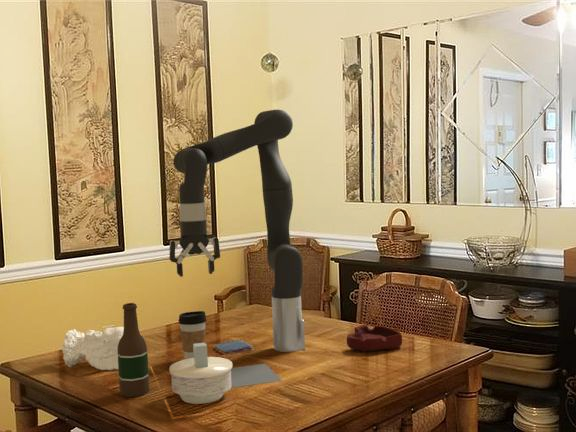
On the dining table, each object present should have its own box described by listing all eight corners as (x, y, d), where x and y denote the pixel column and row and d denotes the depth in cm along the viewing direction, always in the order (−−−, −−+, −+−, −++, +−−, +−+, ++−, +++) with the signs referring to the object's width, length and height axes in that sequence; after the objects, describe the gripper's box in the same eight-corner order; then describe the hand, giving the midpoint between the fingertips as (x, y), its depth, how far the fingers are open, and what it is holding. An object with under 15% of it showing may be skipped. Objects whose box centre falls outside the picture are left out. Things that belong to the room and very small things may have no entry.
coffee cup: (203, 365, 210) (201, 316, 209) (176, 365, 212) (173, 316, 210) (212, 357, 218) (209, 309, 217) (186, 357, 220) (183, 309, 218)
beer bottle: (122, 388, 192) (116, 301, 189) (151, 387, 192) (146, 300, 190) (117, 398, 184) (112, 307, 182) (147, 396, 184) (142, 306, 182)
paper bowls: (241, 391, 186) (240, 361, 185) (216, 411, 172) (215, 380, 171) (189, 387, 191) (188, 358, 190) (161, 406, 177) (159, 375, 176)
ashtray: (397, 356, 212) (396, 340, 212) (344, 353, 218) (343, 338, 217) (407, 341, 229) (406, 326, 229) (357, 338, 234) (357, 324, 234)
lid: (224, 356, 191) (223, 333, 190) (239, 373, 176) (238, 348, 175) (165, 364, 186) (164, 340, 185) (174, 382, 171) (173, 356, 170)
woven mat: (225, 357, 220) (224, 351, 219) (212, 349, 229) (211, 343, 229) (255, 351, 224) (255, 345, 224) (241, 344, 234) (241, 338, 234)
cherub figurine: (79, 325, 224) (138, 318, 220) (85, 363, 224) (144, 357, 220) (58, 334, 211) (121, 327, 207) (65, 375, 211) (127, 369, 208)
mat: (265, 365, 208) (265, 363, 208) (282, 382, 191) (282, 380, 191) (208, 373, 202) (208, 371, 202) (220, 391, 186) (220, 389, 186)
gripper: (214, 216, 207) (217, 271, 209) (166, 219, 203) (169, 275, 204) (220, 218, 200) (222, 274, 201) (169, 221, 196) (173, 279, 197)
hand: (195, 274), depth 203 cm, fingers open, 8 cm apart
